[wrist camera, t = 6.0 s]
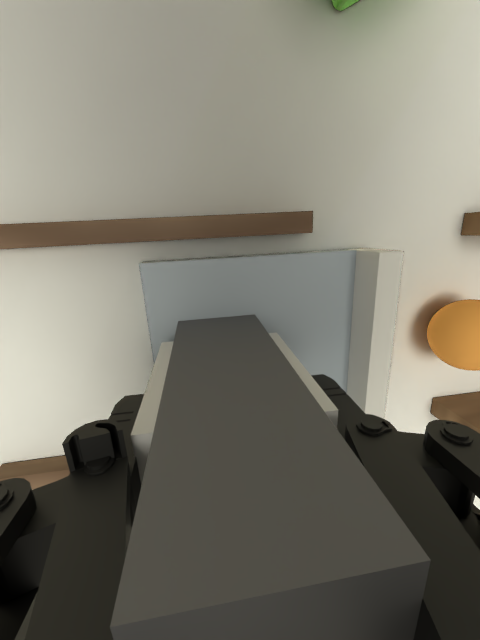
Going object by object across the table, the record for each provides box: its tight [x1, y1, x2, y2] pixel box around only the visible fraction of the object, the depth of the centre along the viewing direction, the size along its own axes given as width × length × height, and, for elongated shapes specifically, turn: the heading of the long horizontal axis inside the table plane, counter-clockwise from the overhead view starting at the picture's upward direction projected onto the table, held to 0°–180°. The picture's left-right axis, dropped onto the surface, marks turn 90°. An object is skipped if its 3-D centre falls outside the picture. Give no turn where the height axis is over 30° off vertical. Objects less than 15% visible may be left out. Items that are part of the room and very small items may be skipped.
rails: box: [0, 211, 313, 489], centre depth 15 cm, size 14×18×1 cm
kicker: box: [110, 248, 431, 640], centre depth 11 cm, size 10×12×13 cm
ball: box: [427, 299, 480, 370], centre depth 16 cm, size 4×4×4 cm
